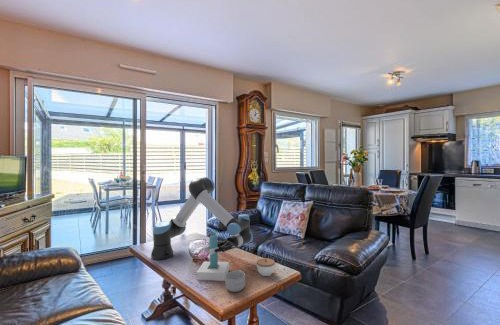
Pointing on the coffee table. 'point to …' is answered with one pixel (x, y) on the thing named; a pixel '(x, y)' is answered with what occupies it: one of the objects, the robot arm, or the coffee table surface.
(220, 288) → the coffee table surface
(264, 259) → the lidded jar
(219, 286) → the coffee table surface
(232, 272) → the teacup
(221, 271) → the socket block
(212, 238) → the peg
